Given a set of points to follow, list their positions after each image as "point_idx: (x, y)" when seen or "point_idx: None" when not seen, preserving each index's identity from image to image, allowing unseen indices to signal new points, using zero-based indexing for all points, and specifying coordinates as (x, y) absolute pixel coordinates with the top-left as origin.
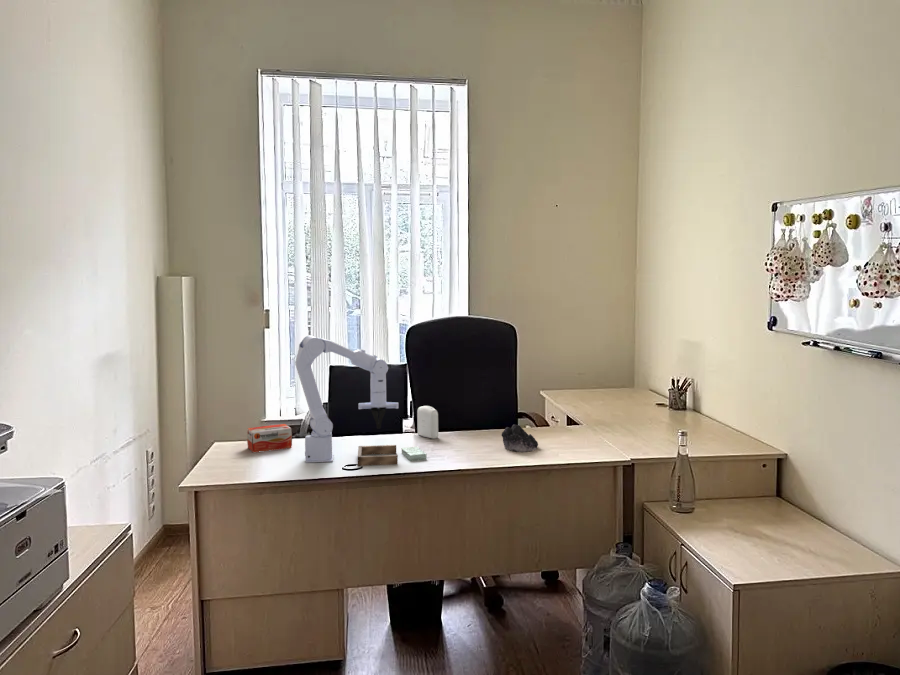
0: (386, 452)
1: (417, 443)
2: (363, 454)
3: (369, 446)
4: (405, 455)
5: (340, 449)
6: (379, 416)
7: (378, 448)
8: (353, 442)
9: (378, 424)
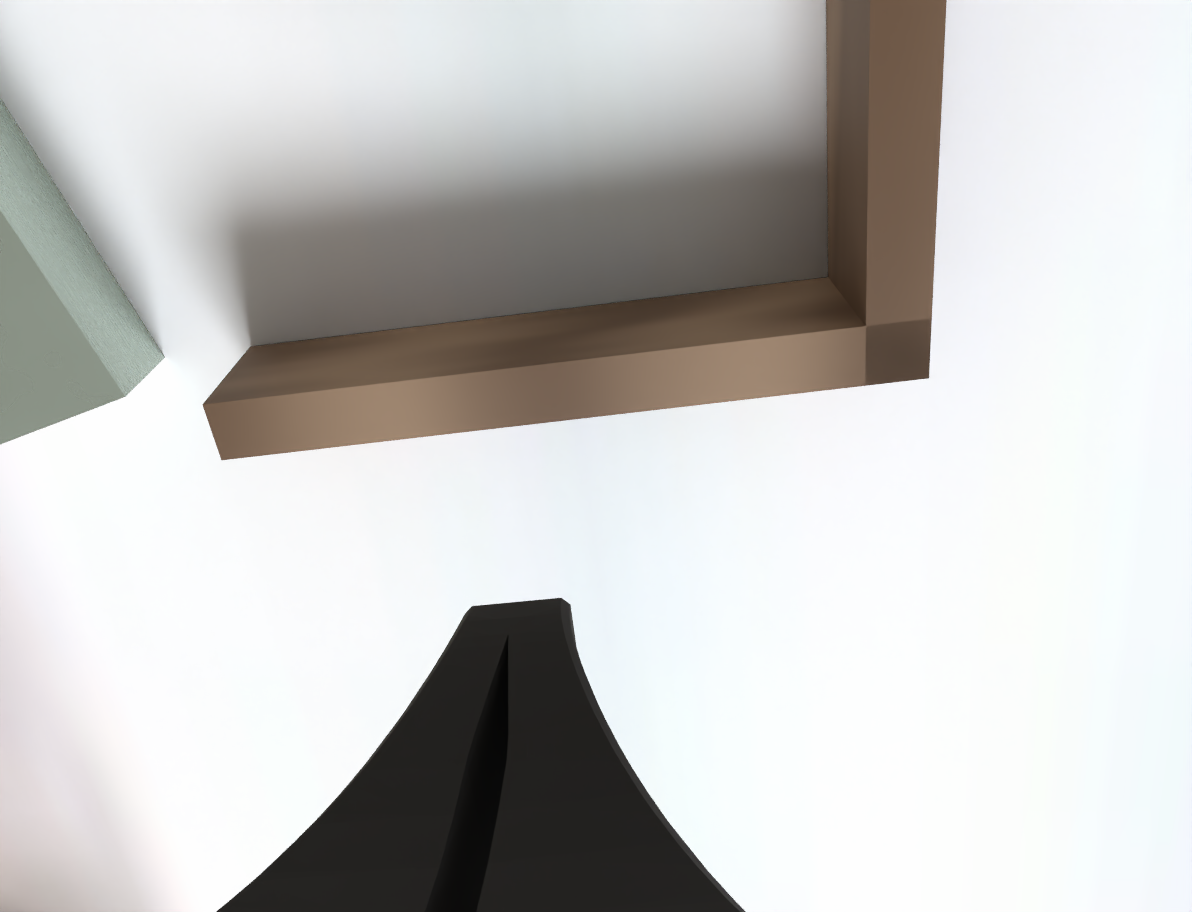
0: (409, 338)
1: (101, 842)
2: (802, 281)
3: (715, 350)
4: (7, 139)
5: (1152, 582)
6: (430, 851)
7: (542, 348)
8: (950, 873)
9: (510, 658)
